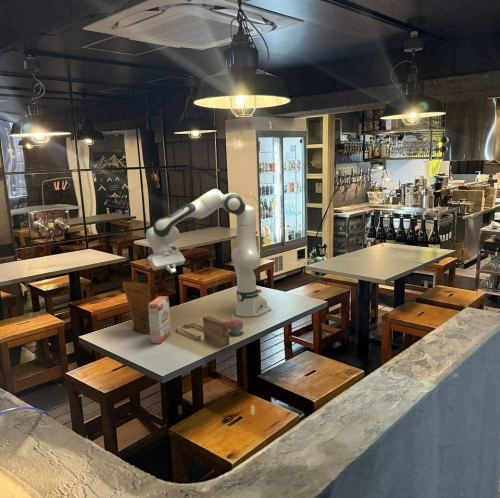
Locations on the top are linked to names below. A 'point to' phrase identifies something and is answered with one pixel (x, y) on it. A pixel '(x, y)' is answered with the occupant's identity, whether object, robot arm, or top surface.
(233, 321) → the cupcake
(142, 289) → the pancake mix bag
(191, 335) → the chute
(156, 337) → the cracker box
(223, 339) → the block
